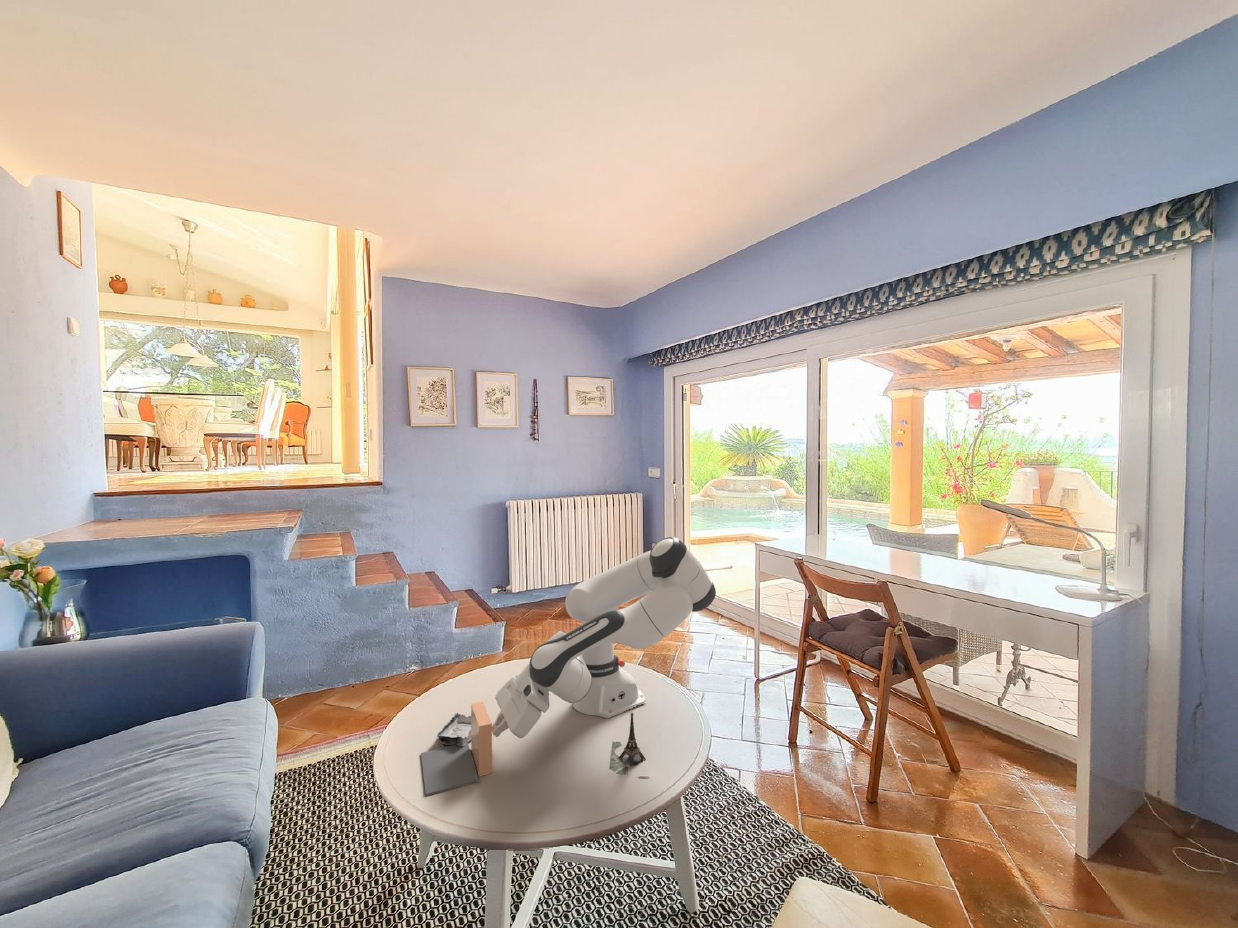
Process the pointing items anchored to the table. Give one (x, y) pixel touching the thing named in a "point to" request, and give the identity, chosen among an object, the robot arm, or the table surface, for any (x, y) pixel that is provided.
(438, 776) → the mat
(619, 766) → the eiffel tower figurine
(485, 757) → the orange block
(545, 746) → the table surface
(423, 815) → the table surface
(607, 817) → the table surface
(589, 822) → the table surface
